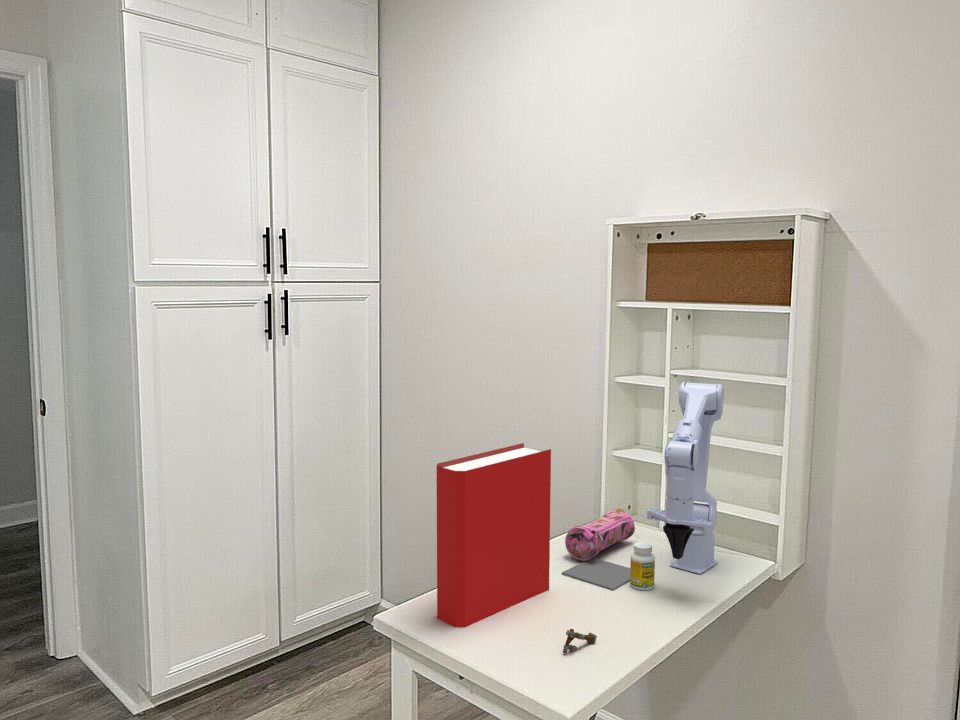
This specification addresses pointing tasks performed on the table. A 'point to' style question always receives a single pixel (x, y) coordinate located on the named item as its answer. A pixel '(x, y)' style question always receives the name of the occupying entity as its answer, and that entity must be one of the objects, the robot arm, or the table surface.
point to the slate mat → (600, 573)
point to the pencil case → (599, 534)
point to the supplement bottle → (642, 567)
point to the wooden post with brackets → (571, 635)
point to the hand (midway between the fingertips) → (677, 557)
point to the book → (492, 532)
